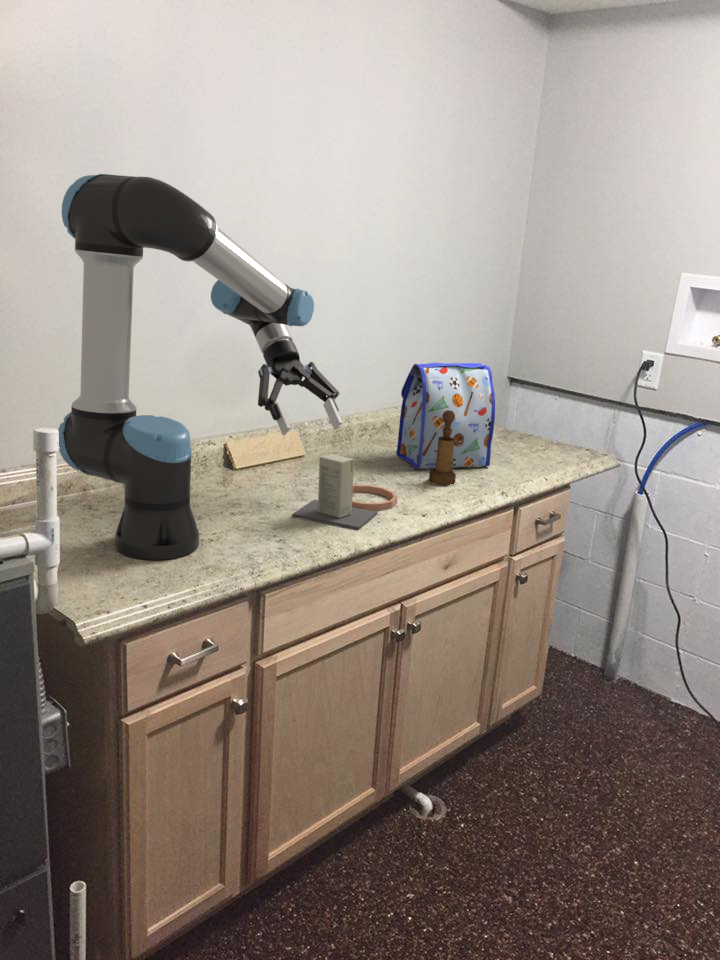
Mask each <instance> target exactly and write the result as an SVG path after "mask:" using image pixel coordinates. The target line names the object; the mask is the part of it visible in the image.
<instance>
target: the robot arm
mask: <svg viewBox="0 0 720 960" xmlns="http://www.w3.org/2000/svg"><path fill="white" fill-rule="evenodd" d="M61 218H62V223H63V226H64V227H65V228H66V230H67V233H68V234H69V235H70V236H71V237H72V238H73V239H74V240H75V241H74V252H75V253H76V255H77V256H78V257H79V258H80V259H81V260H82V262H83V276H82V277H83V279H82V282H83V283H82V316H81V317H82V318H81V321H82V322H81V359H80V360H81V361H80V362H81V363H80V395H79V396H78V397H77V398H76V399H75V400H74V401H73V402H72V403H71V411H70V412H69V413H67V414H66V415H64V418H63V422H61V423H60V424H59V427H58V430H57V432H58V431H59V447H60V449H59V448H58V451H59V454H60V456H61V458H62V459H63V460H64V462H65V463H67V464H68V466H69V467H71V468H73V470H74V469H75V470H77V471H79V472H81V473H83V474H84V475H89V476H92V477H98V478H101V479H105V480H109V481H111V482H116V483H119V484H123V485H124V506H123V509H122V513H121V517H120V519H119V523H118V525H117V528H116V531H115V537H114V538H115V539H114V541H115V545H114V546H115V549H116V550H117V551H118V552H119V553H121V554H123V555H124V556H127V557H131V558H135V559H139V560H148V561H149V560H152V561H153V560H155V561H156V560H159V561H160V560H161V561H162V560H170V559H176V558H181V557H184V556H186V555H190V554H192V553H194V551H196V550H197V549H198V548H199V547H200V532H199V529H198V526H197V523H196V519H195V515H194V513H193V510H192V508H191V477H192V476H191V472H192V471H191V469H192V467H191V466H192V451H193V449H192V448H193V447H192V445H191V436H190V431H189V429H188V428H187V427H186V426H185V425H184V424H182V423H181V422H180V421H177V420H175V419H172V418H168V417H165V416H156V415H152V414H151V415H150V414H147V415H144V414H143V415H142V414H141V415H137V405H135V404H134V402H132V400H131V399H130V397H129V396H130V375H131V374H130V372H131V368H130V367H131V349H132V348H131V346H132V345H131V344H132V342H131V341H132V321H133V320H132V319H133V317H132V316H133V295H134V293H133V292H134V269H135V267H136V265H137V264H138V263H139V262H140V261H142V259H144V258H143V257H144V249H154V250H159V251H163V252H166V253H169V254H171V255H173V256H175V257H176V258H177V259H179V260H181V261H183V262H193V263H194V264H196V265H197V266H198V267H201V269H203V270H204V271H205V272H207V273H209V274H210V275H211V276H212V277H213V278H215V279H217V280H216V281H215V282H214V284H213V285H212V288H211V292H210V300H211V303H212V304H211V305H213V307H215V309H216V310H218V311H220V312H221V313H223V315H227V316H230V317H232V318H234V319H236V320H239V321H240V322H242V323H244V324H246V325H248V326H249V327H250V329H251V331H252V333H253V335H254V337H255V341H256V343H257V345H258V347H259V349H260V352H261V353H262V356H263V359H264V361H265V363H263V364H262V365H261V367H260V368H259V369H258V371H257V373H258V377H259V387H258V397H257V405H258V406H259V407H264V410H266V411H269V413H270V415H271V417H272V420H273V421H276V422H277V425H278V428H279V430H280V432H281V435H282V436H286V435H287V434H288V432H289V431H290V430H291V429H292V427H291V425H290V423H289V420H288V418H287V416H286V413H285V411H284V408H283V407H282V404H281V401H279V402H277V399H278V397H279V394H280V392H281V390H282V387H283V385H284V386H285V387H287V386H291V385H293V386H297V385H298V386H299V387H301V388H305V389H306V390H308V391H309V392H310V393H312V394H313V395H314V396H316V397H318V399H320V400H322V401H323V402H324V403H323V404H322V405H323V407H324V410H325V412H326V414H327V417H328V419H329V421H330V424H331V426H332V428H333V430H337V429H338V428H339V427H340V426H341V425H342V424H343V420H342V418H341V417H340V414H339V411H340V410H339V406H338V405H337V402H336V399H337V398H338V397H339V396H340V394H341V393H340V391H339V390H338V389H337V388H336V387H335V386H334V385H333V384H332V383H331V382H330V381H329V379H327V378H326V376H325V375H323V374H322V372H321V371H319V370H318V368H317V366H316V364H315V363H314V362H313V361H310V362H309V363H308V364H303V363H302V362H301V360H300V359H301V358H300V354H299V351H298V348H297V347H296V346H297V345H296V344H295V342H294V341H293V340H294V339H293V336H292V334H291V333H290V331H289V329H288V327H304V326H306V325H308V324H309V322H310V321H311V320H312V317H313V314H314V311H315V301H314V298H313V296H312V294H311V292H309V291H307V290H304V289H303V290H302V289H300V288H293V287H290V286H289V285H288V284H286V283H285V282H284V281H283V280H282V279H280V278H279V277H278V276H277V275H276V274H274V273H273V272H272V271H271V270H270V269H268V268H267V267H266V266H265V265H263V263H261V262H260V261H259V260H258V259H256V257H254V256H253V255H251V254H250V253H249V252H248V251H246V250H245V249H244V248H243V247H242V246H241V245H239V243H237V242H236V241H234V240H233V239H232V238H231V237H229V235H227V233H225V232H224V231H223V230H221V229H220V228H219V227H218V223H217V221H216V219H215V217H214V216H213V215H212V213H210V212H209V211H208V210H206V209H205V208H204V207H203V206H202V205H200V203H198V202H197V201H195V200H194V199H192V198H191V197H190V196H188V195H187V194H185V193H183V191H180V190H179V189H178V188H176V187H174V186H172V185H171V184H169V183H167V182H165V181H163V180H160V179H156V178H154V177H151V176H132V175H131V176H130V175H121V174H119V175H117V174H107V173H98V174H89V175H88V174H87V175H84V176H82V177H79V178H77V179H76V180H75V181H74V182H73V183H72V184H70V185H69V186H68V188H67V190H66V191H65V194H64V196H63V199H62V204H61ZM270 375H271V376H272V377H274V378H275V379H276V380H275V382H274V384H273V388H272V389H271V393H270V394H269V390H270V389H269V387H270V385H269V384H270ZM303 378H304V379H303Z"/></svg>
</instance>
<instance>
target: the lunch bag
mask: <svg viewBox="0 0 720 960" xmlns="http://www.w3.org/2000/svg"><path fill="white" fill-rule="evenodd" d="M400 395H401V398H402V401H401V407H400V416H399V426H398V427H399V428H398V433H397V435H398V436H397V437H398V438H397V446H396V456H397V457H398V458H399V459H401V460H403V461H405V462H407V463H408V464H410V465H412V467H413V468H414V469H415V470H418V469H421V470H422V469H424V470H428V469H431V470H433V469H434V468H435V466H436V458H437V449H438V439H439V437H444V436H443V428H444V427H445V423H444V421H443V418H442V416H443V413H444V412H445V411H447V410H449V411H453V412H454V414H455V419H454V421H453V422H452V424H451V429H452V433H451V435H450V437H451V438H453V439H455V441H454V449H453V458H452V466H451V469H455V468H457V467H458V468H459V467H468V468H477V467H476V466H489V467H490V466H491V456H492V455H491V453H492V452H491V451H492V449H491V448H492V442H493V441H492V440H493V435H494V429H495V419H496V393H495V387H494V383H493V372H492V369H491V367H490V366H488V365H487V364H482V363H480V362H476V363H475V362H472V363H471V362H467V363H465V362H464V363H463V362H462V363H460V362H454V363H453V362H451V363H447V362H446V363H445V362H428V363H419V364H418V363H414V364H413V365H412V367H411V369H410V371H409V373H408V375H407V377H406V379H405V381H404V383H403V386H402V388H401V393H400ZM459 469H460V468H459Z"/></svg>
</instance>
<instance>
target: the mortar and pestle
mask: <svg viewBox="0 0 720 960" xmlns="http://www.w3.org/2000/svg"><path fill="white" fill-rule="evenodd" d="M442 418H443V421H444V423H445V427H444V428H443V436H444V437H439V439H438V449H437V458H436V466H435V468H434V469H431V470H430V471H429V477H428V482H429V481H430V483H431V482H432V483H431V484H433V483H434V484H433V485H435V484H438V485H437V486H441V485H450V484H454V483H455V484H456V479H457V478H456V477H457V475H456V472H454V471H453V469H452V468H451V466H452V458H453V449H454V441H455V439H453V438H451V437H450V435H451V433H452V429H451V424H452V422H453V421H454V419H455V414H454V412H453V411H449V410H447V411H445V412H444V413H443V416H442ZM455 484H454V485H455Z"/></svg>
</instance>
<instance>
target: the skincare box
mask: <svg viewBox="0 0 720 960" xmlns="http://www.w3.org/2000/svg"><path fill="white" fill-rule="evenodd" d="M318 462H319V463H318V464H319V465H318V470H319V471H318V493H317V494H318V497H317V500H318V512H321V513H324V514H327V515H331V516H334V517H338V518H341V517H344V516H347V515H349V514H351V513H352V501H353V493H354V492H353V485H354V466H355V464H354V463H355V459H354V458H350V457H347V456H343V455H339V454H335V453H330V454H326V455H321V456H319V461H318Z"/></svg>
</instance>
